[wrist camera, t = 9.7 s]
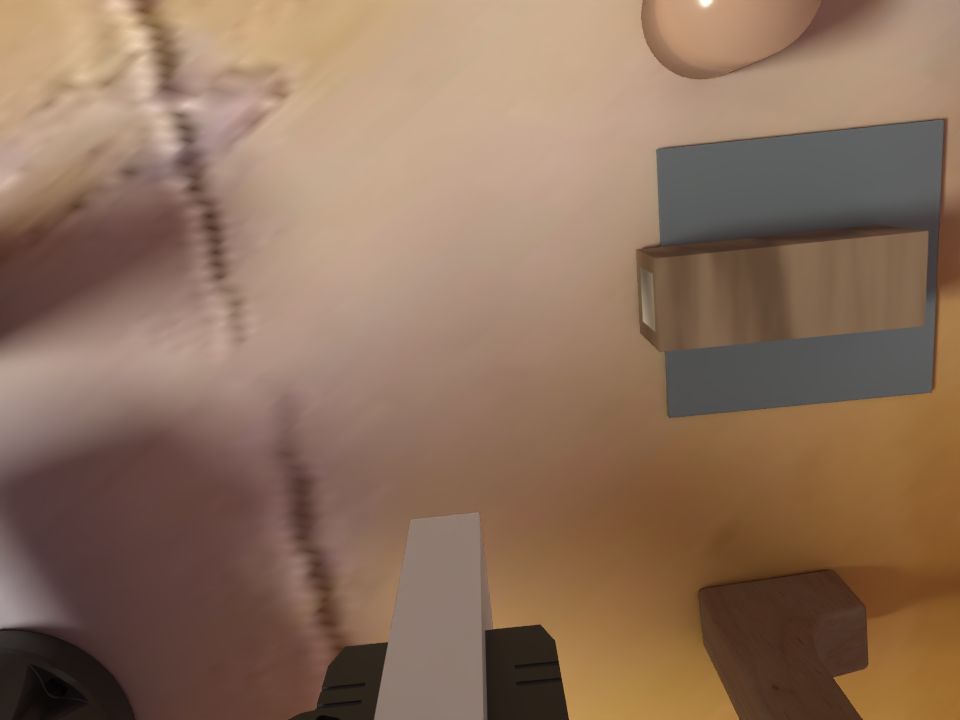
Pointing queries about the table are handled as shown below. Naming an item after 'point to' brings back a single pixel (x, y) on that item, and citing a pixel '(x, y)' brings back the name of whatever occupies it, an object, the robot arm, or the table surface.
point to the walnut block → (782, 287)
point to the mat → (796, 209)
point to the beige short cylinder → (721, 32)
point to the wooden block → (786, 645)
